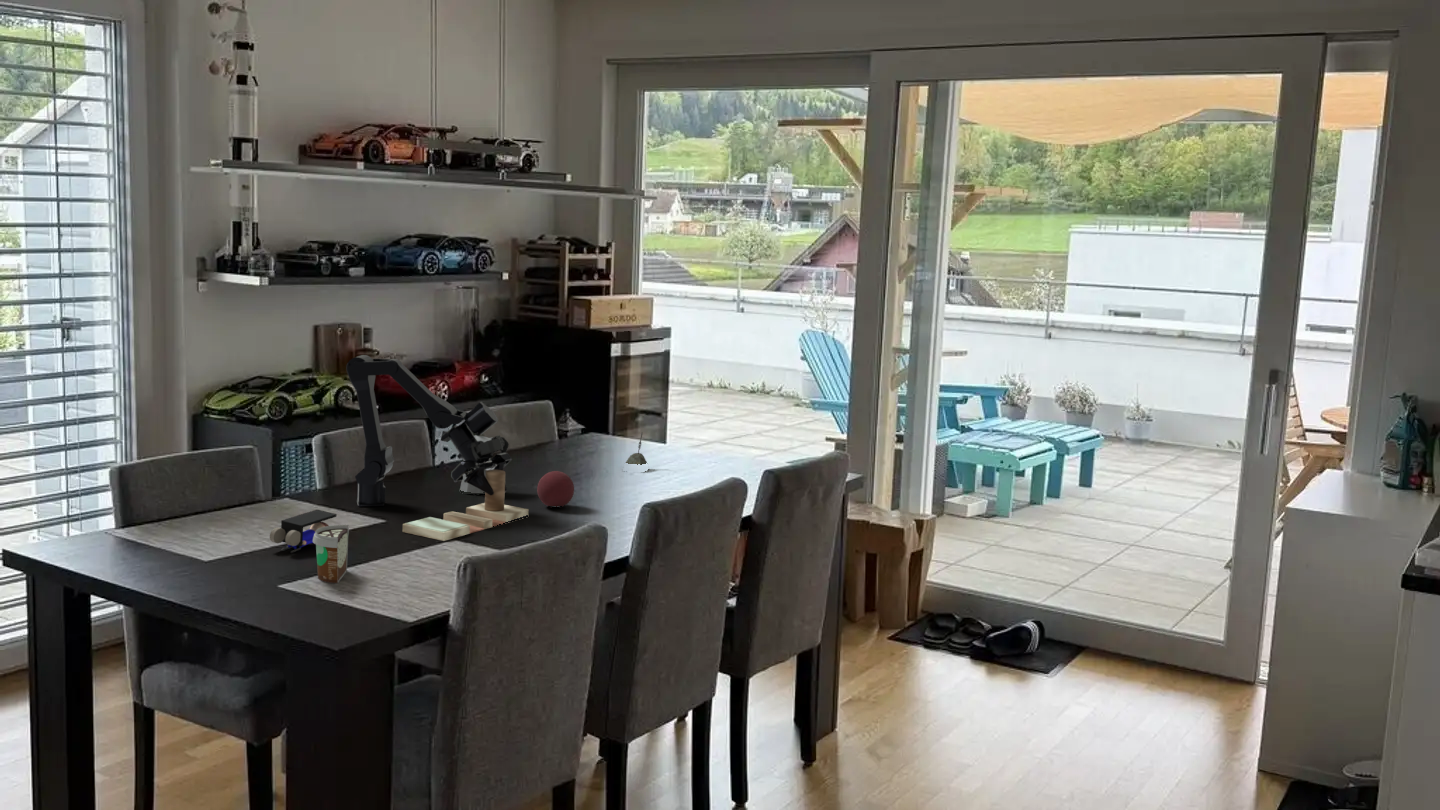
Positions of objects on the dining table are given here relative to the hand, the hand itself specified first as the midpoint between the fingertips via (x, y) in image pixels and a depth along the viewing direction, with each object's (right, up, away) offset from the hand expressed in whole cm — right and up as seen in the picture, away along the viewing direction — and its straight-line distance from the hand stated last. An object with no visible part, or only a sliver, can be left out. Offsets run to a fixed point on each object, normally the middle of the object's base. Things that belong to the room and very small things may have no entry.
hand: (499, 492), depth 331 cm
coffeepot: (-11, -2, +30) cm, 32 cm away
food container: (-26, -14, -60) cm, 67 cm away
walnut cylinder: (-1, -4, +1) cm, 5 cm away
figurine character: (-38, -10, -38) cm, 55 cm away
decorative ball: (+12, -5, +16) cm, 21 cm away
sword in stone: (+31, +2, +75) cm, 81 cm away
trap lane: (-7, -7, -8) cm, 13 cm away
